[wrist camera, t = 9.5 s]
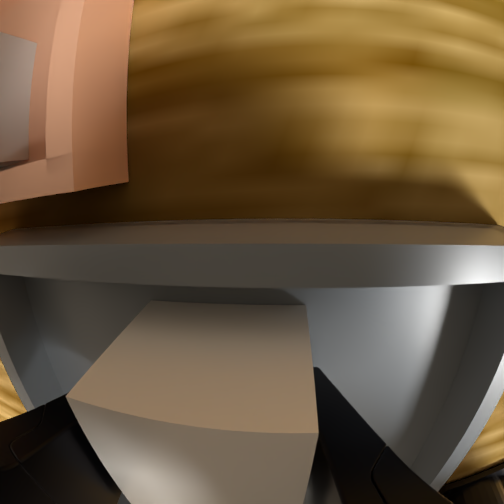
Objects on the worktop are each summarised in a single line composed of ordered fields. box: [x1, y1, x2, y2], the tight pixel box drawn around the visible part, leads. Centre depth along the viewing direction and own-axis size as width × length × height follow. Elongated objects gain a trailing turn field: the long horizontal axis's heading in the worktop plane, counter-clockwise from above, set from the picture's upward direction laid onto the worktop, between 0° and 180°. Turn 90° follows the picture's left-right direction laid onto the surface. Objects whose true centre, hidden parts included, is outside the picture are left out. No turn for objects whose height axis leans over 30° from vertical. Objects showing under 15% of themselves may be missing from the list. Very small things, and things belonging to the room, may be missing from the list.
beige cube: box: [66, 300, 319, 504], centre depth 6 cm, size 4×4×4 cm
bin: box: [0, 219, 504, 504], centre depth 8 cm, size 16×14×2 cm
